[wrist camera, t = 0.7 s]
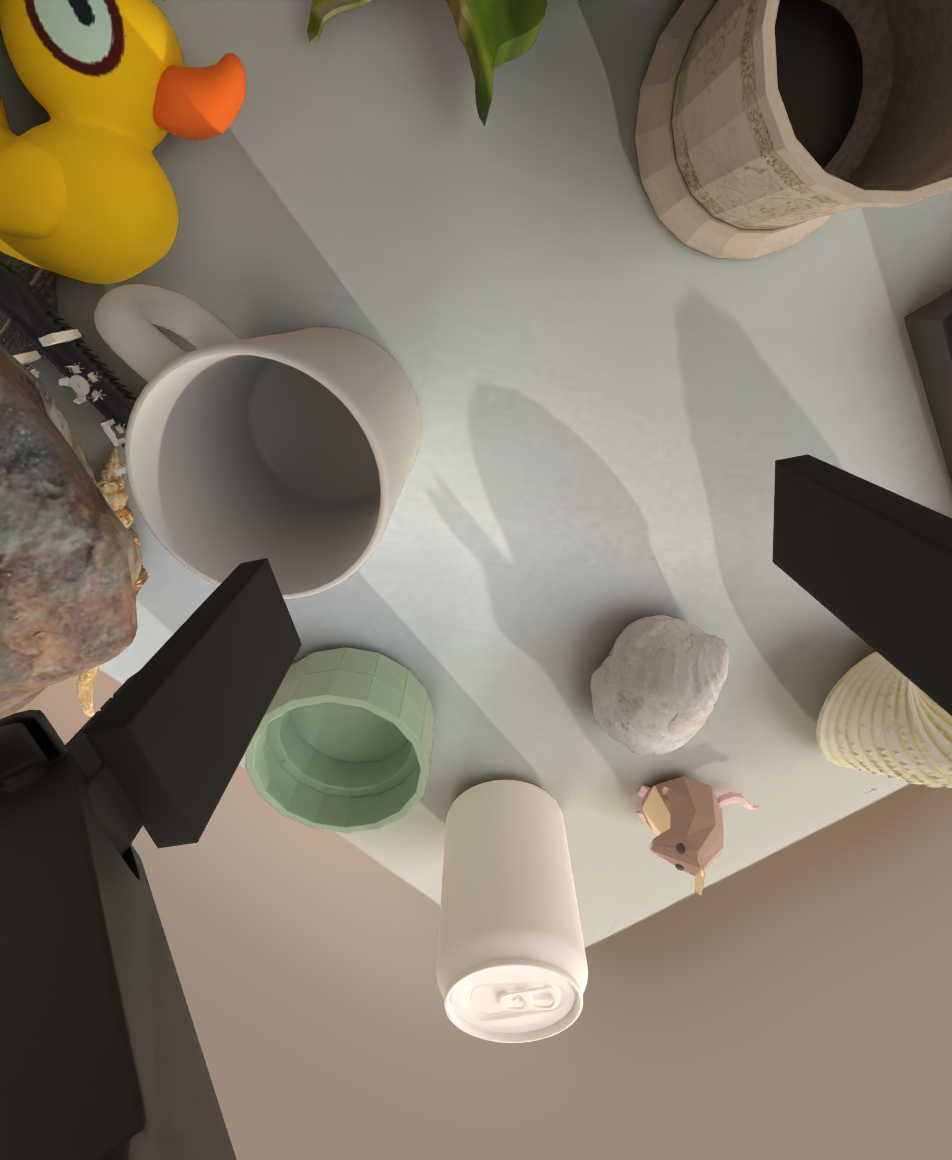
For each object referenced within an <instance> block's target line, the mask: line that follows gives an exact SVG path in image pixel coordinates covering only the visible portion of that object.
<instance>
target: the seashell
mask: <svg viewBox="0 0 952 1160" xmlns="http://www.w3.org/2000/svg"><path fill="white" fill-rule="evenodd" d="M816 739H817V743H818V746H819V749H820V751H821V753H822V754H823V755H824V757H825V758H826V759H827V760H828V761H830V762H832V763H834V764H836V765H838V766H840V767H850V768H854V769H859V770H860V771H871V772H872V773H873V774H880V775H887V776H888V777H889V778H896V779H899V780H906V781H907V782H908V783H909V784H910V783H915V784H925V785H926V786H928V787H942V786H946V787H948V788H952V716H951V715H950V714H948V713H947V712H946V711H945V710H944V709H943V708H941V707H940V706H939V705H938V704H937V703H936V702H934V701H933V700H932V699H931V698H930V697H929V696H927V695H926V694H925V693H924V692H923V691H922V690H921V689H919V688H918V687H917V686H916V685H915V684H914V683H912V682H911V681H910V680H909V679H908V678H907V677H905V676H904V675H903V674H902V673H901V672H900V671H899V670H897V669H896V668H895V667H894V666H893V665H892V664H890V663H889V662H888V661H887V660H886V659H885V658H883V657H882V656H881V655H880V654H879V653H878V652H874V653H872V654H870V655H869V656H867V657H865V658H864V659H863V660H861V661H860V662H858V663H857V664H856V665H854V666H853V667H852V668H851V669H850V670H848V671H847V672H846V673H845V674H844V675H843V676H842V678H841V679H840V680H839V681H838V682H837V683H836V685H835V686H834V687H833V688H832V690H831V691H830V693H829V694H828V696H827V698H826V700H825V702H824V704H823V707H822V709H821V711H820V714H819V717H818V721H817V726H816Z"/></svg>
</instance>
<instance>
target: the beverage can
mask: <svg viewBox="0 0 952 1160" xmlns="http://www.w3.org/2000/svg"><path fill="white" fill-rule="evenodd" d="M587 978H588V968H587V961H586V955H585V949H584V943H583V937H582V931H581V925H580V919H579V912H578V906H577V900H576V894H575V888H574V882H573V876H572V870H571V864H570V858H569V852H568V846H567V839H566V833H565V827H564V821H563V816H562V812H561V809H560V807H559V805H558V804H557V802H556V801H555V800H554V798H553V797H552V796H551V795H549V794H548V793H547V792H546V791H544V790H543V789H541V788H539V787H537V786H535V785H532V784H529V783H526V782H522V781H517V780H494V781H489V782H485V783H481V784H478V785H476V786H474V787H472V788H470V789H468V790H466V791H465V792H463V793H462V794H461V795H460V796H459V797H458V798H457V799H456V800H455V801H454V802H453V804H452V805H451V807H450V809H449V811H448V813H447V818H446V829H445V845H444V861H443V877H442V893H441V909H440V925H439V942H438V958H437V982H438V986H439V989H440V992H441V994H442V996H443V998H444V1006H445V1011H446V1014H447V1016H448V1017H449V1019H450V1020H451V1021H452V1023H453V1024H454V1025H456V1026H457V1027H458V1028H459V1029H461V1030H462V1031H464V1032H466V1033H468V1034H470V1035H472V1036H475V1037H478V1038H481V1039H485V1040H489V1041H495V1042H503V1043H521V1042H529V1041H535V1040H540V1039H544V1038H547V1037H550V1036H553V1035H555V1034H557V1033H559V1032H561V1031H563V1030H565V1029H566V1028H567V1027H569V1026H570V1025H571V1024H572V1023H573V1022H574V1021H575V1020H576V1019H577V1018H578V1016H579V1015H580V1013H581V1010H582V1007H583V996H582V995H583V993H584V990H585V988H586V984H587Z"/></svg>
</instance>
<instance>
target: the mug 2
mask: <svg viewBox="0 0 952 1160" xmlns="http://www.w3.org/2000/svg"><path fill="white" fill-rule="evenodd" d="M779 1H781V0H684V2H683V3H682V5H681V6H680V7H679V9H678V10H677V12H676V13H675V15H674V16H673V18H672V19H671V21H670V22H669V24H668V25H667V27H666V28H665V29H664V31H663V32H662V34H661V35H660V37H659V39H658V42H657V45H656V47H655V50H654V53H653V55H652V58H651V61H650V63H649V66H648V69H647V71H646V74H645V77H644V79H643V82H642V85H641V88H640V97H639V106H638V114H637V123H636V131H635V142H636V149H637V156H638V163H639V169H640V176H641V182H642V185H643V187H644V189H645V191H646V193H647V195H648V197H649V199H650V202H651V204H652V206H653V208H654V210H655V212H656V214H657V217H658V219H659V220H660V221H661V222H662V223H663V224H664V225H665V226H666V227H667V228H668V229H669V230H670V231H671V232H672V233H673V234H674V235H675V236H676V237H677V238H678V239H679V240H680V241H681V242H682V243H683V244H685V245H687V246H689V247H692V248H694V249H696V250H699V251H701V252H703V253H706V254H708V255H710V256H713V257H715V258H736V259H754V258H757V257H760V256H763V255H766V254H769V253H772V252H775V251H778V250H782V249H785V248H788V247H791V246H792V245H794V244H795V243H797V242H798V241H799V240H801V239H802V238H804V237H805V236H807V235H808V234H810V233H811V232H813V231H814V230H815V229H817V228H818V227H820V226H821V225H823V224H824V223H826V222H827V221H828V220H829V218H830V217H831V216H832V215H833V214H835V213H839V212H843V211H847V210H851V209H855V208H859V207H899V206H903V205H907V204H910V203H913V202H916V201H919V200H922V199H925V198H928V197H932V196H935V195H938V194H941V193H944V192H947V191H950V190H952V0H821V1H823V2H825V3H827V4H829V5H831V6H833V7H835V8H836V9H838V10H839V11H840V12H841V14H842V15H843V16H844V18H845V19H846V20H847V21H848V23H849V24H850V25H851V27H852V28H853V29H854V31H855V34H856V38H857V41H858V44H859V48H860V51H861V54H862V57H863V90H862V94H861V97H860V101H859V105H858V109H857V113H856V117H855V121H854V123H853V125H852V127H851V129H850V131H849V132H848V134H847V136H846V138H845V140H844V142H843V144H842V146H841V148H840V149H839V151H838V152H837V153H836V154H835V155H834V157H833V158H832V159H831V160H830V161H829V163H828V164H827V165H826V166H825V167H824V168H823V169H822V167H821V166H820V165H819V164H818V163H817V162H816V161H815V159H814V158H813V157H812V156H811V155H810V154H809V152H808V151H807V150H806V149H805V148H804V147H803V145H802V144H801V143H800V142H799V141H798V140H797V138H796V137H795V135H794V132H793V129H792V126H791V123H790V121H789V118H788V115H787V112H786V109H785V107H784V104H783V101H782V98H781V96H780V93H779V90H778V84H777V64H776V45H775V21H776V16H777V11H778V5H779Z"/></svg>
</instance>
